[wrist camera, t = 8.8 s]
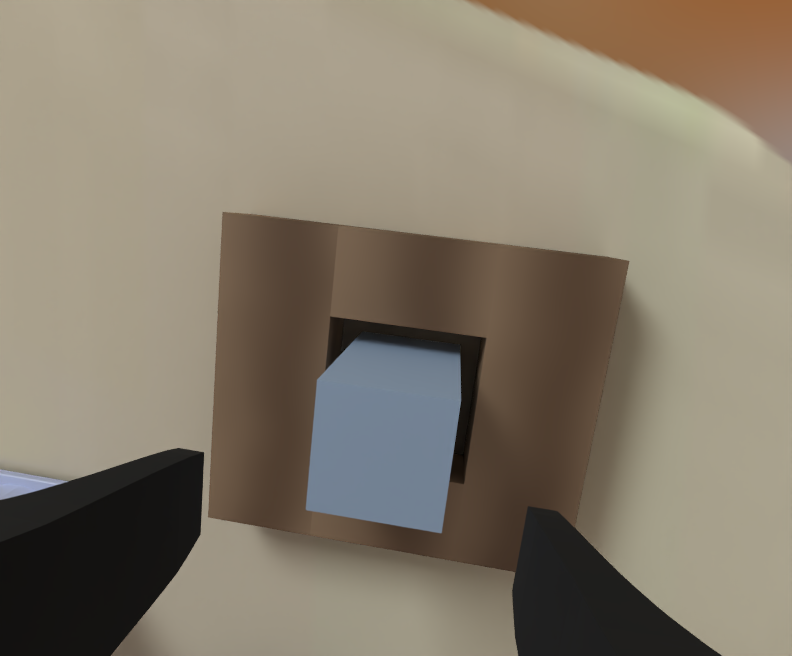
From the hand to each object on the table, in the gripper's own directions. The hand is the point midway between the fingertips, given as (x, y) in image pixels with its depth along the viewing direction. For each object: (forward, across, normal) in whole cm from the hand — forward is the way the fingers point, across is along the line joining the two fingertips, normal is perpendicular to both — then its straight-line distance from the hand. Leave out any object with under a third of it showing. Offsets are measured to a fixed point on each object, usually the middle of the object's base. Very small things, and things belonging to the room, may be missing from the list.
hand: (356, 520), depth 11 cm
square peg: (+10, 0, 0) cm, 10 cm away
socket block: (+10, 0, 0) cm, 10 cm away
